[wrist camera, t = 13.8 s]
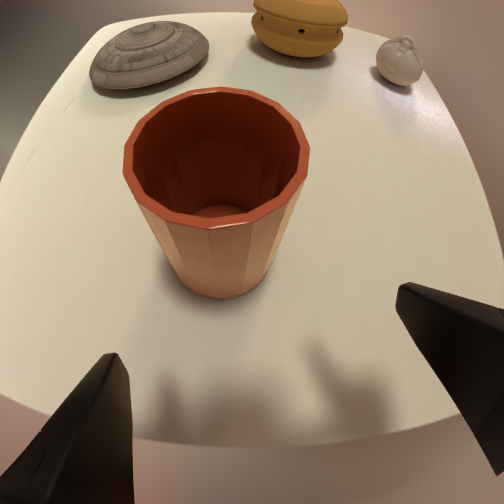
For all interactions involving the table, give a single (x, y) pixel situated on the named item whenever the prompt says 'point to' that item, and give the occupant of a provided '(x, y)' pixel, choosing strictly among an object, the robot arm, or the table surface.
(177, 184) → the tumbler
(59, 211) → the table surface
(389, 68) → the figurine
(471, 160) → the table surface
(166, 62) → the flying saucer
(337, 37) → the pot
